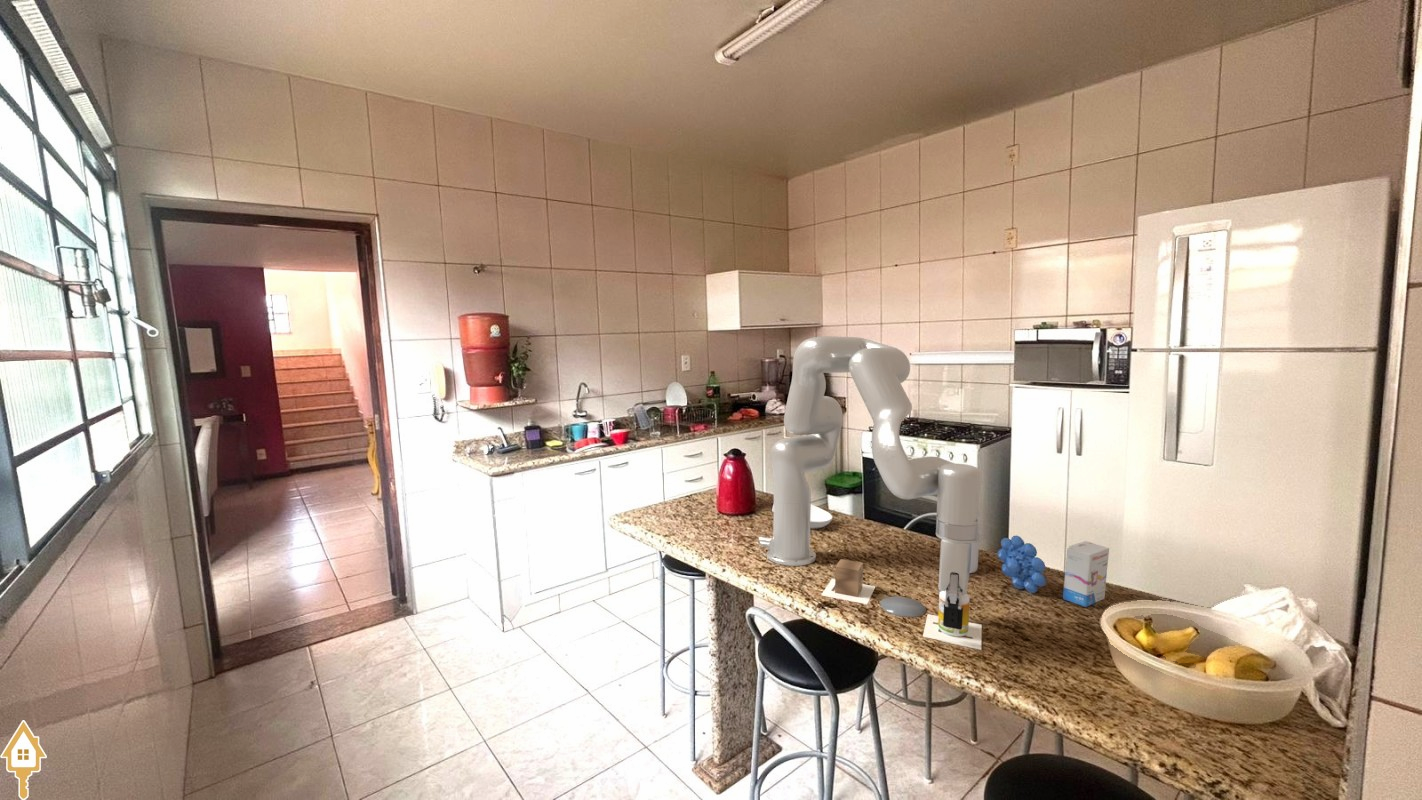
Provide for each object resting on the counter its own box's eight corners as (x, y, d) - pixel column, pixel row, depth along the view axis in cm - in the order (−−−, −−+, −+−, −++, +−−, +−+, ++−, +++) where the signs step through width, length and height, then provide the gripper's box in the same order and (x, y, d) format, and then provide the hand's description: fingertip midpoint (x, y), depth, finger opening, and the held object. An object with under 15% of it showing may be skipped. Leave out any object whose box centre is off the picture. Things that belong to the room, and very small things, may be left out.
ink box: (1086, 608, 119) (1090, 554, 117) (1061, 599, 123) (1065, 546, 122) (1106, 599, 123) (1110, 546, 122) (1081, 590, 127) (1084, 539, 126)
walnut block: (835, 592, 125) (835, 566, 125) (840, 584, 130) (840, 559, 129) (857, 597, 123) (858, 570, 123) (862, 588, 128) (862, 562, 127)
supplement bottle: (964, 624, 111) (966, 577, 110) (971, 638, 106) (973, 588, 105) (935, 622, 112) (937, 575, 111) (940, 635, 107) (942, 586, 106)
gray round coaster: (877, 612, 116) (877, 610, 116) (884, 595, 125) (884, 593, 125) (923, 621, 113) (923, 619, 113) (927, 603, 121) (927, 601, 121)
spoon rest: (840, 528, 171) (840, 505, 171) (811, 535, 165) (811, 511, 165) (790, 509, 191) (790, 488, 191) (762, 514, 185) (762, 493, 185)
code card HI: (820, 596, 124) (820, 594, 124) (832, 579, 133) (832, 578, 133) (867, 605, 120) (867, 604, 120) (875, 587, 129) (875, 586, 129)
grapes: (984, 582, 132) (986, 532, 130) (1004, 577, 134) (1006, 528, 133) (1030, 603, 121) (1033, 548, 120) (1051, 597, 124) (1054, 544, 123)
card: (922, 637, 107) (922, 636, 106) (927, 615, 115) (927, 613, 115) (981, 650, 102) (981, 648, 102) (981, 625, 111) (981, 624, 111)
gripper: (939, 515, 116) (936, 594, 118) (932, 540, 101) (928, 632, 102) (979, 519, 113) (976, 602, 115) (978, 547, 98) (974, 641, 99)
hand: (953, 616), depth 108 cm, fingers open, 9 cm apart
